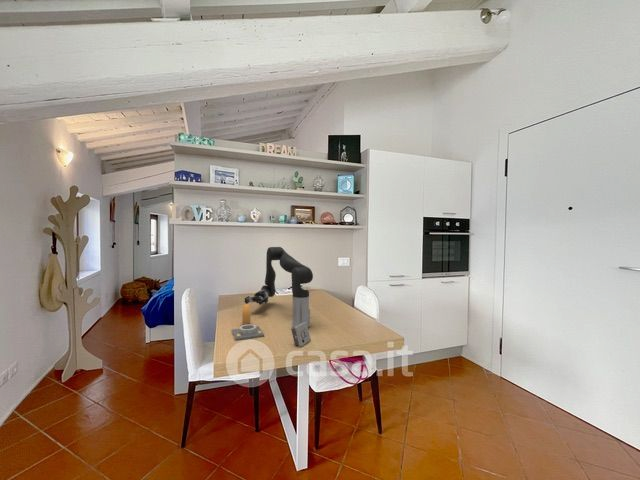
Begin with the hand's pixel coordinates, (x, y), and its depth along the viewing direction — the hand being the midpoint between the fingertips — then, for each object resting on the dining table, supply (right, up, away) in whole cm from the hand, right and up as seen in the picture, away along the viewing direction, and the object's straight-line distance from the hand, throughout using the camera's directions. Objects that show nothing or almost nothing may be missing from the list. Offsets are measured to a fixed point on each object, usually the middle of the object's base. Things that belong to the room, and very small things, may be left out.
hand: (252, 302), depth 167 cm
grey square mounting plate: (+4, -10, -27) cm, 29 cm away
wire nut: (-1, -10, -11) cm, 15 cm away
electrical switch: (+32, -11, -38) cm, 51 cm away
